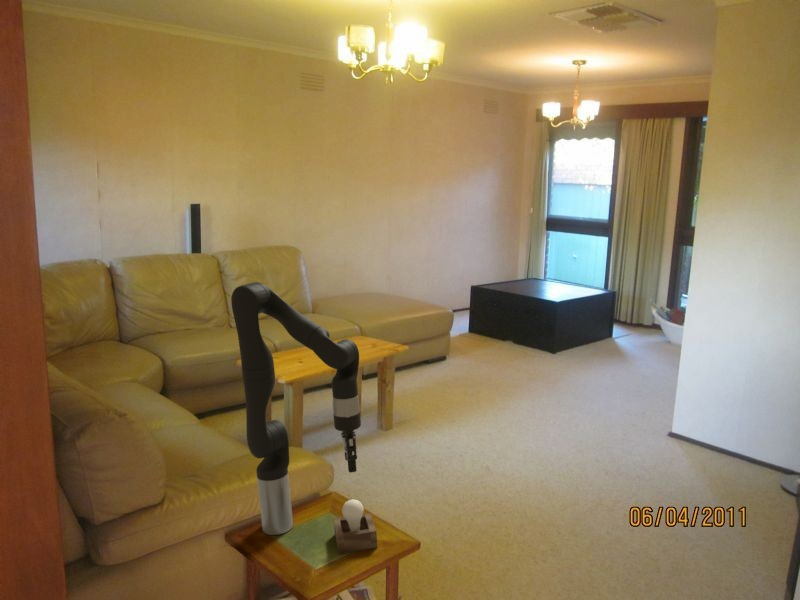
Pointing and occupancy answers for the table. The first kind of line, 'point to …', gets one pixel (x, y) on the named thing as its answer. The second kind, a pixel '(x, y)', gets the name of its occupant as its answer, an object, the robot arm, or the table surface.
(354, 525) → the lightbulb
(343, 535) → the socket block
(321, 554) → the table surface
